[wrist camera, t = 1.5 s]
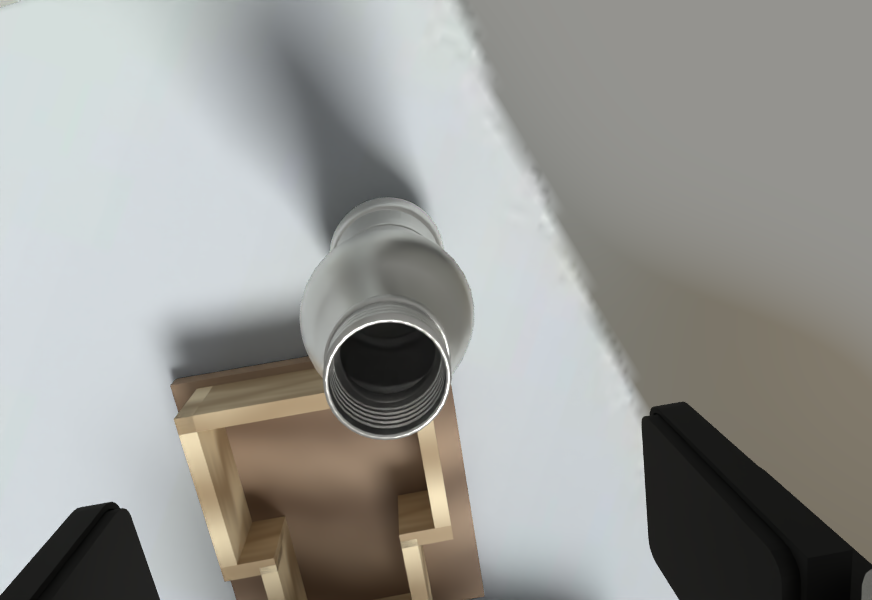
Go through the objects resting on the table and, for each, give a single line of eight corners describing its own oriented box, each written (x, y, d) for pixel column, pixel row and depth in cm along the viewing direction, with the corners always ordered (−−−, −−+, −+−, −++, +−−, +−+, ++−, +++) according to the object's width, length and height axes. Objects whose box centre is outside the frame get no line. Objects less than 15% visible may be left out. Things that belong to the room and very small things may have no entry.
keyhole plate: (175, 379, 36) (143, 415, 31) (442, 333, 37) (450, 362, 32) (252, 629, 42) (235, 693, 37) (482, 585, 42) (494, 643, 38)
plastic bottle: (323, 288, 35) (247, 466, 16) (346, 179, 34) (294, 235, 15) (424, 311, 36) (466, 506, 17) (452, 206, 35) (533, 292, 15)
